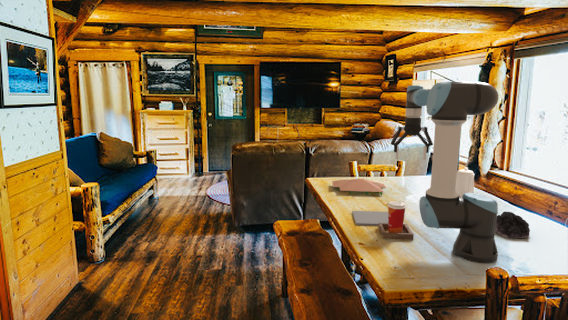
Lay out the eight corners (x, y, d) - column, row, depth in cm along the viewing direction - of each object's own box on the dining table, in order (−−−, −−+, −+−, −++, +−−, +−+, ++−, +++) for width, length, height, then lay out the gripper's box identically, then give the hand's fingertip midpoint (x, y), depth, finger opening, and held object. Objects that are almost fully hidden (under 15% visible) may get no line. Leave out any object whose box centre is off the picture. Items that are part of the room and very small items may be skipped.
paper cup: (390, 229, 161) (391, 199, 158) (406, 233, 156) (408, 202, 153) (383, 234, 155) (384, 203, 152) (400, 238, 150) (402, 207, 147)
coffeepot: (459, 205, 196) (462, 171, 192) (448, 192, 220) (450, 163, 216) (480, 206, 193) (484, 172, 190) (466, 193, 217) (469, 163, 214)
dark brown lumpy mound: (530, 244, 147) (535, 221, 145) (493, 235, 153) (498, 213, 151) (526, 235, 158) (531, 214, 157) (492, 227, 164) (496, 207, 163)
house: (387, 197, 212) (388, 184, 210) (332, 195, 216) (332, 182, 214) (382, 187, 234) (383, 175, 232) (332, 185, 238) (332, 174, 236)
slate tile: (395, 226, 164) (395, 224, 164) (356, 225, 166) (356, 223, 165) (387, 213, 182) (387, 211, 181) (352, 212, 183) (352, 210, 183)
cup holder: (413, 240, 149) (413, 234, 148) (383, 238, 150) (383, 233, 149) (406, 229, 161) (406, 223, 160) (378, 228, 162) (378, 222, 162)
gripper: (436, 116, 178) (433, 158, 182) (386, 116, 180) (384, 157, 184) (441, 117, 171) (438, 160, 175) (389, 117, 173) (386, 159, 177)
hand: (410, 159), depth 180 cm, fingers open, 13 cm apart
